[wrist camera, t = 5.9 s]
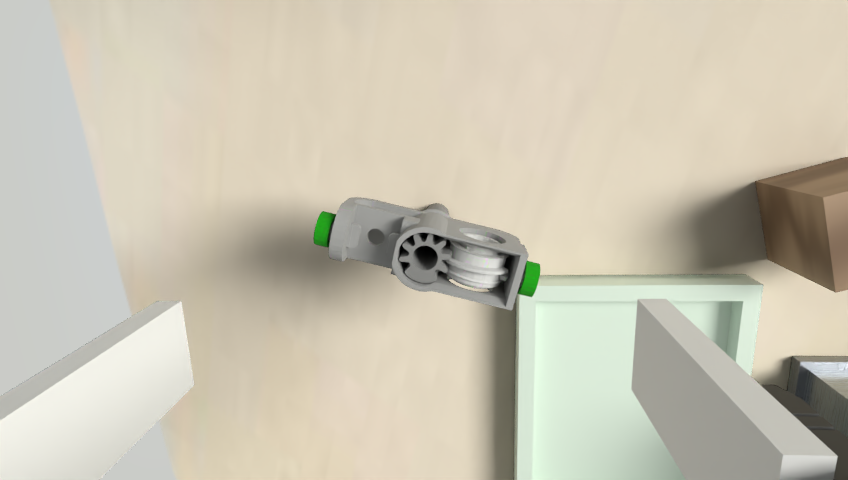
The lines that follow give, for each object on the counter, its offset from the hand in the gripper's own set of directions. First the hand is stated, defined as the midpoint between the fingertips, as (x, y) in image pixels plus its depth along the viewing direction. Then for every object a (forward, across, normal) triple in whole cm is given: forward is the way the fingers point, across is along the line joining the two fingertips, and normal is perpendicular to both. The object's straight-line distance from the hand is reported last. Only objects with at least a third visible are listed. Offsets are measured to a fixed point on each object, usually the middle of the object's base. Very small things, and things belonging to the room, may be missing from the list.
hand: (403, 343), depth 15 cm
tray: (+18, +12, -12) cm, 25 cm away
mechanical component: (+18, 0, 0) cm, 18 cm away
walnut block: (+18, +22, 0) cm, 29 cm away
